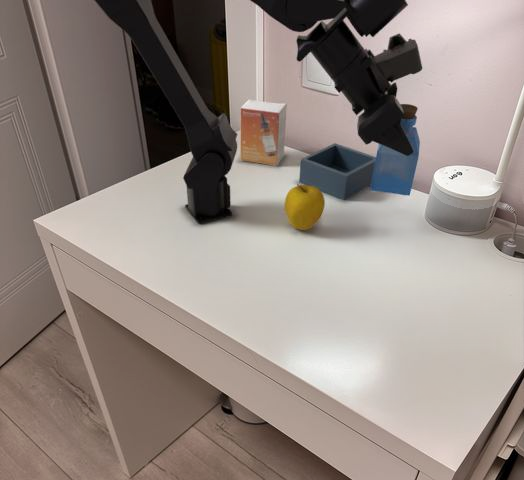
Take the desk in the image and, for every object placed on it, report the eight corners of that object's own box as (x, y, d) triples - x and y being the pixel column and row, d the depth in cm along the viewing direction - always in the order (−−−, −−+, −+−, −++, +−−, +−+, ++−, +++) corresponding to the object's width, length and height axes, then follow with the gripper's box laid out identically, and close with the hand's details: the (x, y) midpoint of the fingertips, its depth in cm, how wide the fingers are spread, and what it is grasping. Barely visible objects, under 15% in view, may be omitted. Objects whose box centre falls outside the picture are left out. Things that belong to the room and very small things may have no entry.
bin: (344, 200, 97) (347, 176, 94) (299, 182, 102) (300, 158, 99) (376, 181, 103) (380, 158, 100) (332, 165, 108) (334, 142, 105)
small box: (239, 161, 109) (239, 107, 102) (248, 150, 113) (248, 98, 106) (277, 166, 108) (279, 112, 100) (284, 155, 111) (287, 102, 104)
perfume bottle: (411, 179, 89) (428, 103, 80) (409, 195, 84) (427, 117, 76) (374, 174, 90) (387, 98, 81) (370, 190, 85) (384, 112, 77)
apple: (275, 228, 90) (277, 183, 84) (300, 214, 93) (303, 170, 88) (305, 242, 86) (308, 196, 81) (329, 228, 90) (334, 183, 84)
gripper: (401, 34, 64) (467, 132, 71) (389, 3, 78) (446, 88, 85) (328, 99, 70) (396, 184, 77) (329, 60, 84) (387, 135, 91)
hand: (408, 145), depth 82 cm, fingers closed on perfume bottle, 6 cm apart
